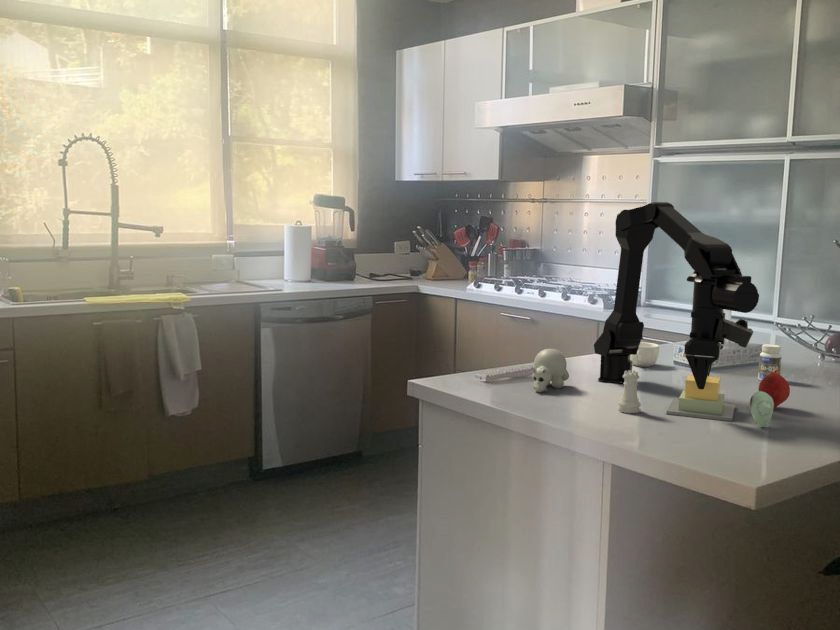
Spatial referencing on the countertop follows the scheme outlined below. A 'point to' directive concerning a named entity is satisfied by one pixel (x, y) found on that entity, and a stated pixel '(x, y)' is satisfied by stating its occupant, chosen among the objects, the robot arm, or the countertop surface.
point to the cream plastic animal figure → (549, 369)
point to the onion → (775, 387)
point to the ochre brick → (709, 391)
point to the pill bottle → (769, 360)
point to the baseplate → (702, 415)
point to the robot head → (761, 408)
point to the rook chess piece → (630, 394)
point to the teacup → (645, 355)
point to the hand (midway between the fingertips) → (703, 384)
